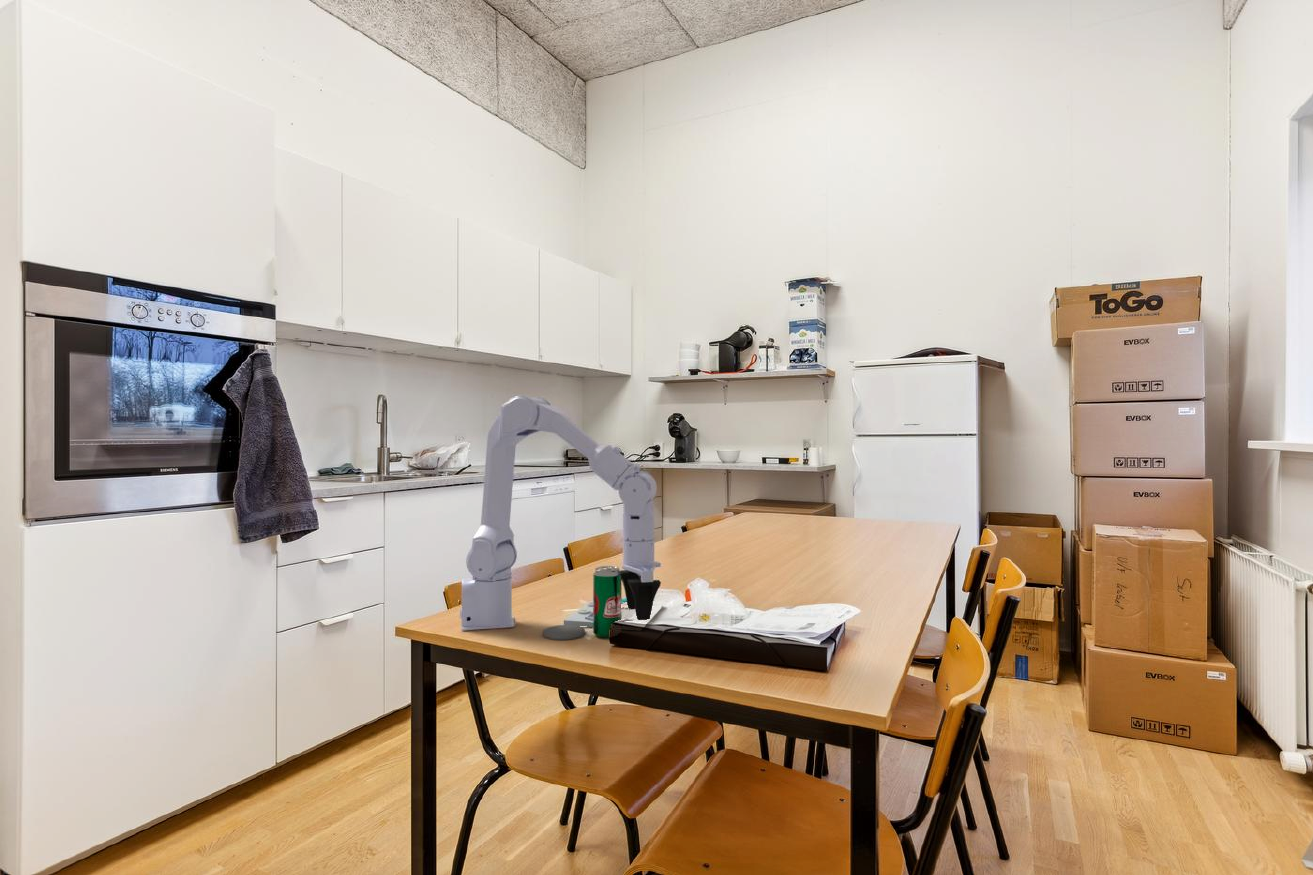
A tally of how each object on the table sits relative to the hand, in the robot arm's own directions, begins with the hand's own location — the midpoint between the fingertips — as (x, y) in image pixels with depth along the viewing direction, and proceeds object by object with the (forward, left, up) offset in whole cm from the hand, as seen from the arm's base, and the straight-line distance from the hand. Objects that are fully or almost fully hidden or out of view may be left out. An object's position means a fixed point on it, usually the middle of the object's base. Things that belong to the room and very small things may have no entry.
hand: (638, 614), depth 124 cm
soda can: (-6, 0, -4) cm, 7 cm away
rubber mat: (-13, +2, -3) cm, 14 cm away
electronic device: (-2, +12, -4) cm, 13 cm away
